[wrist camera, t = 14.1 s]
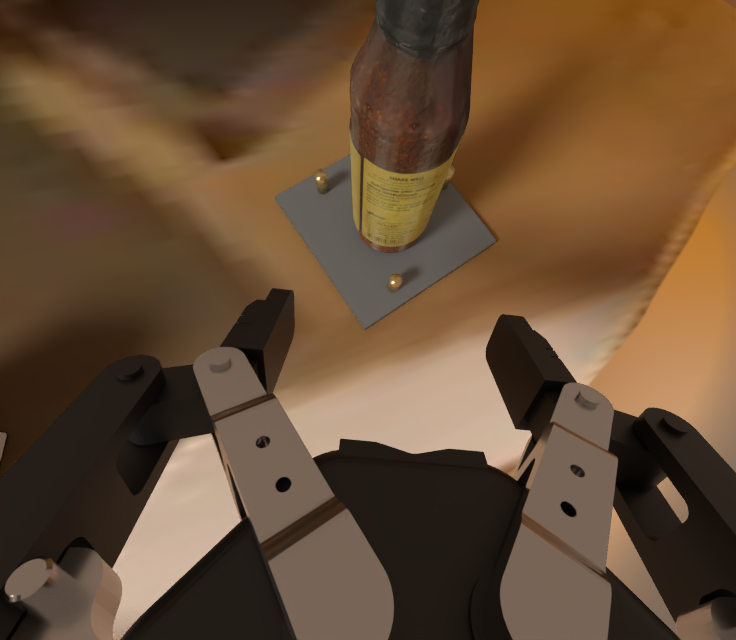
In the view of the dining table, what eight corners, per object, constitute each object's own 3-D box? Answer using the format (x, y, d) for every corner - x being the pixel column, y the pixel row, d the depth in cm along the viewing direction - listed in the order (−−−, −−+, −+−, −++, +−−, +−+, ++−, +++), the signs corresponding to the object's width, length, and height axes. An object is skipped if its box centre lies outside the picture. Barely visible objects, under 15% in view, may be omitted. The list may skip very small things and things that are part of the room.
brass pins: (314, 187, 28) (312, 173, 26) (408, 133, 29) (413, 116, 27) (391, 295, 26) (394, 288, 24) (486, 232, 28) (496, 221, 26)
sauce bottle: (437, 231, 27) (648, -131, 8) (380, 270, 27) (459, -33, 7) (393, 175, 28) (485, -278, 9) (335, 211, 27) (296, -208, 8)
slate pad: (276, 200, 28) (274, 196, 27) (403, 128, 30) (404, 123, 29) (364, 329, 26) (365, 328, 26) (493, 243, 28) (496, 240, 28)
